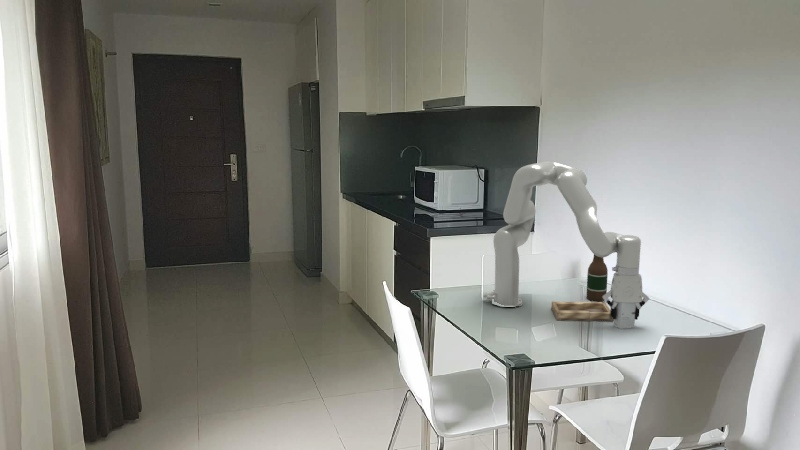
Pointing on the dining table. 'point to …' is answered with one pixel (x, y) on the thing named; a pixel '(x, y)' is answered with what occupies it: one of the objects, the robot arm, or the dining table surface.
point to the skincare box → (625, 315)
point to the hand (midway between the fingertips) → (624, 317)
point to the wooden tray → (581, 311)
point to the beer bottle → (597, 279)
